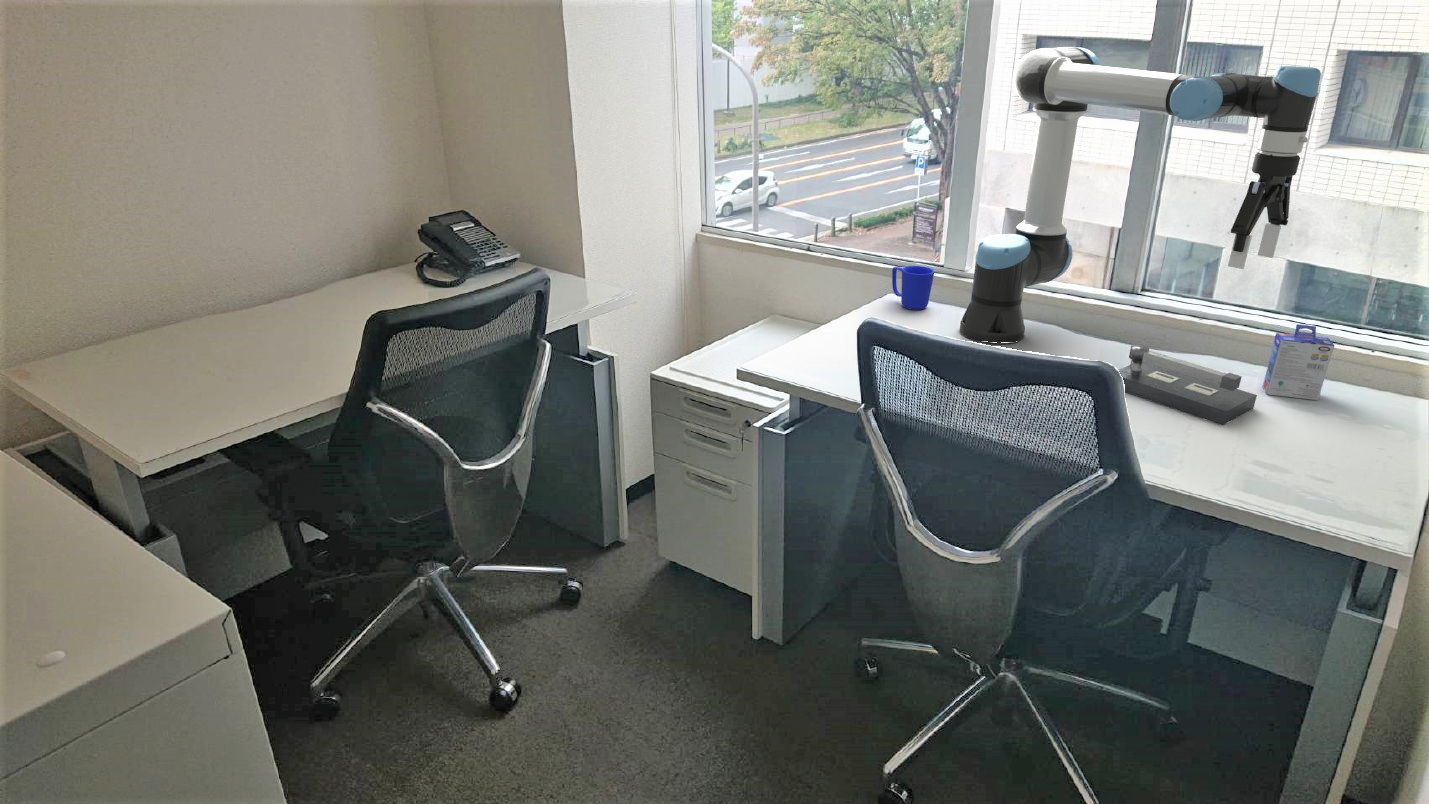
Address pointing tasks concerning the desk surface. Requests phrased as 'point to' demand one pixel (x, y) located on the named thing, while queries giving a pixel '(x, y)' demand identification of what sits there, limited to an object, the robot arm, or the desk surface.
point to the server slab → (1186, 392)
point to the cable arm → (1185, 367)
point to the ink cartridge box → (1298, 364)
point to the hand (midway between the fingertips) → (1250, 262)
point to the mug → (914, 286)
